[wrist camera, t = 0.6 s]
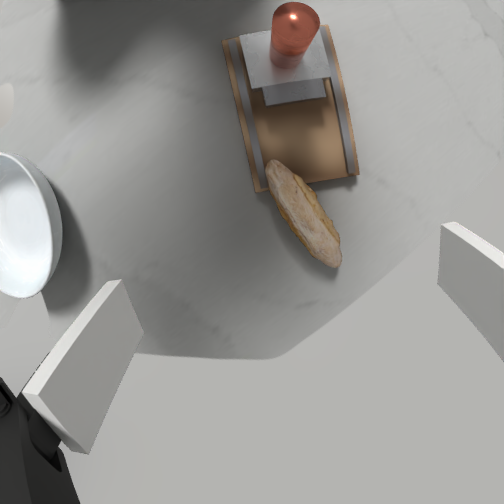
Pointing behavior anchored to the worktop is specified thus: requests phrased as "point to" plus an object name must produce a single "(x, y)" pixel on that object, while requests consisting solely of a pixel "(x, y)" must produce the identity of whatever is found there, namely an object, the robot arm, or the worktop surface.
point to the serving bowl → (27, 227)
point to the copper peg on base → (288, 57)
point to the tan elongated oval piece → (304, 213)
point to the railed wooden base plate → (295, 124)
